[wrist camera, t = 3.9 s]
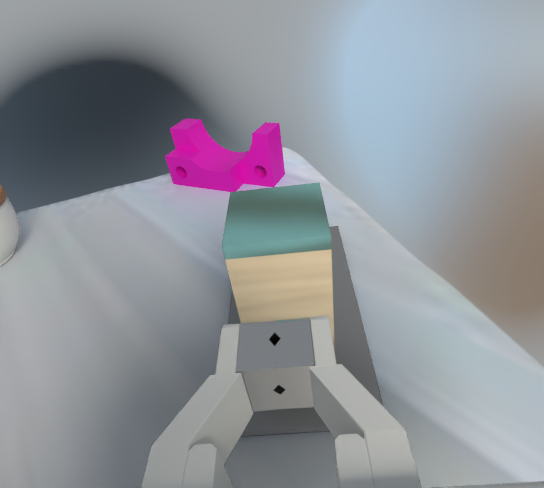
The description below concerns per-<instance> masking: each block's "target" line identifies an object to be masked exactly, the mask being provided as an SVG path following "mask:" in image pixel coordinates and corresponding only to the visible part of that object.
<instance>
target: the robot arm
mask: <svg viewBox="0 0 544 488" xmlns="http://www.w3.org/2000/svg"><path fill="white" fill-rule="evenodd" d="M310 407H314V409H315V411H316V412H317V413H318V415H319V416H320V418H321V419H322V420H323V422H324V423H325V425H326V426H327V428H328V429H329V430H330V432H331V433H332V435H333V436H334V437H335V439H336V440H335V453H336V468H337V483H338V488H422V487H421V484H420V480H419V477H418V473H417V470H416V466H415V463H414V459H413V456H412V452H411V449H410V445H409V442H408V438H407V435H406V431H405V429H404V428H403V427H402V426H401V425H400V423H399V422H398V421H397V420H396V419H395V418H394V417H393V416H392V415H391V414H390V413H389V412H388V411H387V410H386V409H385V408H384V407H383V406H382V405H381V404H380V403H379V402H378V401H377V400H376V399H375V398H374V397H373V396H372V395H371V394H370V392H369V391H368V390H367V389H366V388H365V387H364V386H363V385H362V384H361V383H360V382H359V381H358V380H357V379H356V378H355V377H354V376H353V375H352V374H351V373H350V372H349V371H348V370H347V369H346V368H345V367H344V366H343V365H342V364H336V358H335V352H334V346H333V340H332V334H331V327H330V321H329V317H328V315H325V316H315V317H303V318H294V319H284V320H275V321H266V322H252V323H240V324H226V325H223V327H222V329H221V334H220V342H219V349H218V356H217V364H216V371H215V374H214V375H209V377H208V378H207V379H206V380H205V381H204V383H203V384H202V385H201V386H200V388H199V389H198V390H197V391H196V392H195V394H194V395H193V396H192V397H191V398H190V400H189V401H188V402H187V403H186V405H185V406H184V407H183V408H182V409H181V411H180V412H179V413H178V414H177V415H176V417H175V418H174V419H173V420H172V422H171V423H170V424H169V425H168V426H167V428H166V429H165V430H164V431H163V432H162V434H161V435H160V436H159V437H158V439H157V440H156V441H155V442H154V443H153V445H152V446H151V450H150V454H149V458H148V462H147V466H146V470H145V474H144V478H143V482H142V486H141V488H234V487H233V485H232V482H231V480H230V478H229V476H228V473H227V471H226V469H225V466H224V464H225V462H226V461H227V459H228V457H229V455H230V454H231V452H232V450H233V449H234V447H235V445H236V443H237V442H238V440H239V438H240V436H241V435H242V433H243V431H244V429H245V428H246V426H247V424H248V422H249V421H250V419H251V417H252V415H253V412H256V411H266V410H276V409H283V408H284V409H289V408H310ZM432 488H544V481H537V482H520V483H502V484H485V485H468V486H450V487H432Z"/></svg>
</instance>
